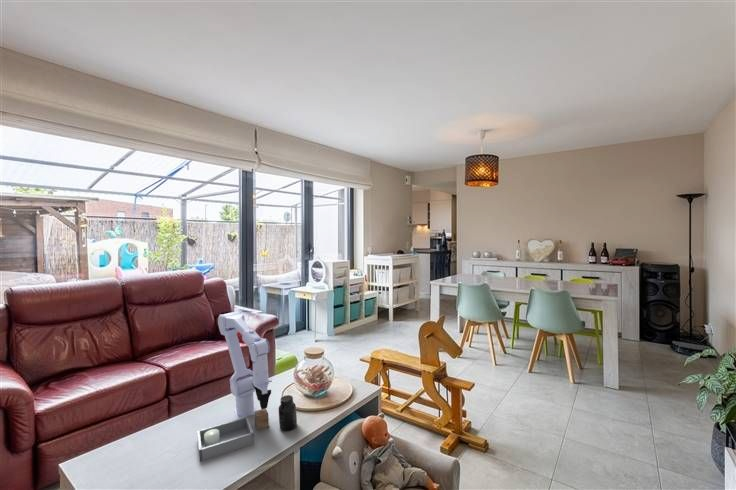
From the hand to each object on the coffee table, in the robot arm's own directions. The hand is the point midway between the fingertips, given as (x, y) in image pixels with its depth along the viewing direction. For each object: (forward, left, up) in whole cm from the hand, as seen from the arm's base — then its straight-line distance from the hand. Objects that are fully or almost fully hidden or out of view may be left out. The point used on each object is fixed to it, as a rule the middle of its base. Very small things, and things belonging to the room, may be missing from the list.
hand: (262, 403), depth 136 cm
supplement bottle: (+5, +8, -10) cm, 14 cm away
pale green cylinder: (+3, -19, -9) cm, 21 cm away
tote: (+3, -15, -10) cm, 18 cm away
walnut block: (-1, -1, -10) cm, 10 cm away
